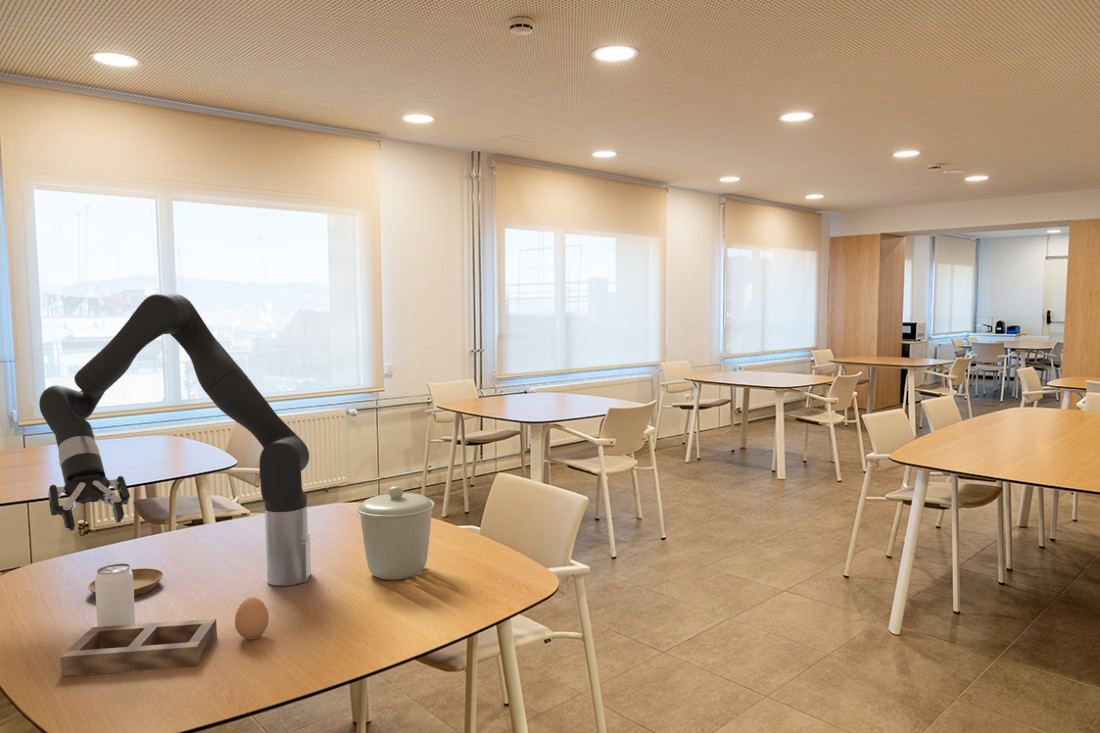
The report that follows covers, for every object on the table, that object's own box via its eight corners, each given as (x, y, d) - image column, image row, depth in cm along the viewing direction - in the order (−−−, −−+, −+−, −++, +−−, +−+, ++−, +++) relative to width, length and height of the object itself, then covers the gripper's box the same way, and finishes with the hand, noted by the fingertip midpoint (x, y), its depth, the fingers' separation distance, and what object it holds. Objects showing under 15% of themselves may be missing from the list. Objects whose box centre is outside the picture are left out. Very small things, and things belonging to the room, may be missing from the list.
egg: (258, 646, 137) (256, 605, 136) (229, 643, 138) (227, 603, 137) (275, 632, 143) (274, 592, 142) (247, 630, 144) (245, 591, 143)
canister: (381, 593, 162) (379, 499, 161) (345, 571, 176) (342, 485, 174) (450, 573, 174) (448, 486, 173) (411, 555, 188) (409, 474, 186)
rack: (216, 636, 141) (216, 618, 141) (197, 665, 129) (196, 646, 129) (93, 645, 138) (92, 627, 137) (61, 676, 126) (60, 656, 125)
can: (108, 636, 141) (105, 576, 140) (91, 629, 145) (87, 570, 144) (141, 624, 147) (139, 566, 146) (124, 617, 150) (121, 560, 149)
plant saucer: (130, 606, 157) (129, 594, 156) (72, 601, 160) (71, 589, 159) (178, 581, 171) (177, 570, 171) (124, 577, 174) (123, 566, 174)
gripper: (44, 455, 153) (58, 521, 146) (120, 447, 163) (137, 508, 155) (39, 476, 157) (53, 541, 150) (114, 467, 167) (131, 527, 160)
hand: (96, 524), depth 153 cm, fingers open, 8 cm apart
